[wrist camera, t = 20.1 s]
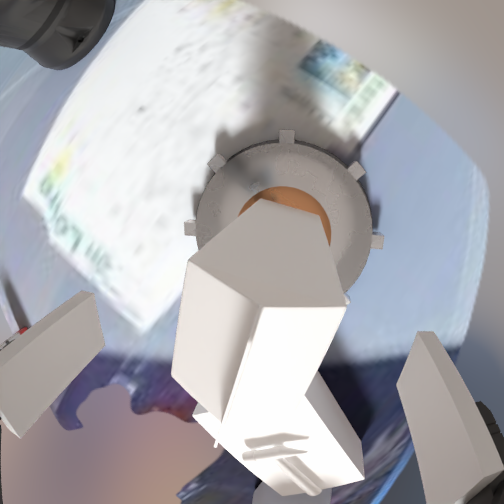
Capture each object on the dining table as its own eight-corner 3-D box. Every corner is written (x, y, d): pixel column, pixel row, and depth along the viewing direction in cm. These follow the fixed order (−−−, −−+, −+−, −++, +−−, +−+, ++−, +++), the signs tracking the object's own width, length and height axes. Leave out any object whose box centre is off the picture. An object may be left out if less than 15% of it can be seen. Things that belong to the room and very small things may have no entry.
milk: (319, 214, 28) (369, 359, 7) (301, 271, 30) (293, 470, 9) (259, 197, 28) (144, 293, 7) (244, 254, 30) (141, 424, 9)
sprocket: (169, 178, 31) (137, 182, 24) (340, 112, 26) (351, 97, 19) (233, 330, 35) (219, 364, 29) (392, 285, 30) (410, 314, 24)
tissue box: (301, 341, 36) (297, 402, 25) (360, 440, 40) (365, 490, 30) (210, 374, 40) (186, 428, 29) (287, 459, 44) (280, 506, 34)
